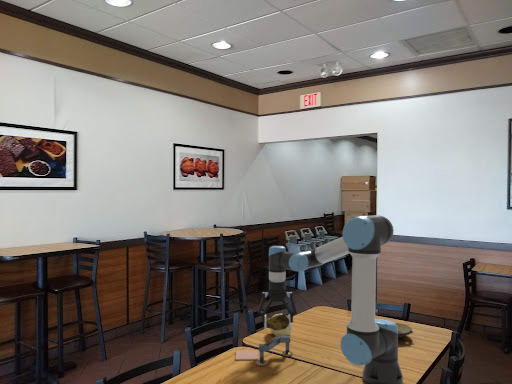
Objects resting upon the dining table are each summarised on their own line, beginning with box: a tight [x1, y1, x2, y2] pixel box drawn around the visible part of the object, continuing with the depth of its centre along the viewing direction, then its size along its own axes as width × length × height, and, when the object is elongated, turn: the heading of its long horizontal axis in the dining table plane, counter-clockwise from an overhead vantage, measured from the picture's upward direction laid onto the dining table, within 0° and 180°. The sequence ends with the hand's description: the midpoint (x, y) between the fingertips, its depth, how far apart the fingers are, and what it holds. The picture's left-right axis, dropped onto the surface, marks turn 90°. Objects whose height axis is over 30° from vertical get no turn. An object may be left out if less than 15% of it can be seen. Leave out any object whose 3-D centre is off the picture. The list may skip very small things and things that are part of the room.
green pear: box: [266, 313, 289, 330], centre depth 187 cm, size 8×13×8 cm, turn 24°
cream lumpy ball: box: [270, 313, 293, 337], centre depth 215 cm, size 12×12×11 cm
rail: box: [255, 335, 294, 367], centre depth 183 cm, size 7×21×8 cm, turn 133°
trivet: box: [234, 349, 259, 361], centre depth 186 cm, size 10×10×1 cm
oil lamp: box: [395, 322, 414, 338], centre depth 214 cm, size 22×30×8 cm
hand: (277, 329), depth 186 cm, fingers closed on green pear, 10 cm apart
